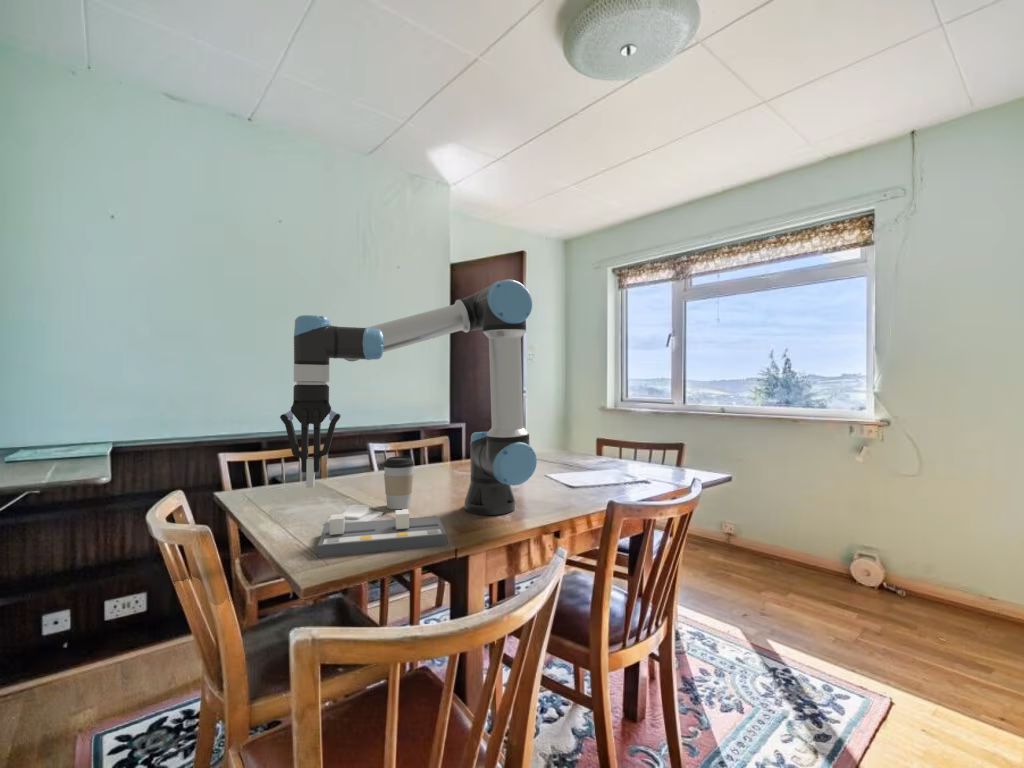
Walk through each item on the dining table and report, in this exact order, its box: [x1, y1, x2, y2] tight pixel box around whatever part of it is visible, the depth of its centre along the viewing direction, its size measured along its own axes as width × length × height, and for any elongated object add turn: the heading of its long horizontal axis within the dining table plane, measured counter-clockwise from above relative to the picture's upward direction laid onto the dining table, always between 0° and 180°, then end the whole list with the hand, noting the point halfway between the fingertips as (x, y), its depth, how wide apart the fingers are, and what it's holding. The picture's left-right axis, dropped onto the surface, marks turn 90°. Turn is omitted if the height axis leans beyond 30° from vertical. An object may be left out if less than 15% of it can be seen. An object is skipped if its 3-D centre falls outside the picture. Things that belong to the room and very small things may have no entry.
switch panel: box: [317, 515, 448, 558], centre depth 114 cm, size 28×15×3 cm, turn 106°
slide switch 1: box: [329, 513, 345, 535], centre depth 111 cm, size 3×4×4 cm
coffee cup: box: [382, 454, 415, 510], centre depth 142 cm, size 9×9×15 cm
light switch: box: [325, 504, 384, 525], centre depth 130 cm, size 11×4×13 cm
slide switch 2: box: [394, 508, 410, 529], centre depth 115 cm, size 3×4×4 cm
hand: (310, 486), depth 109 cm, fingers closed
